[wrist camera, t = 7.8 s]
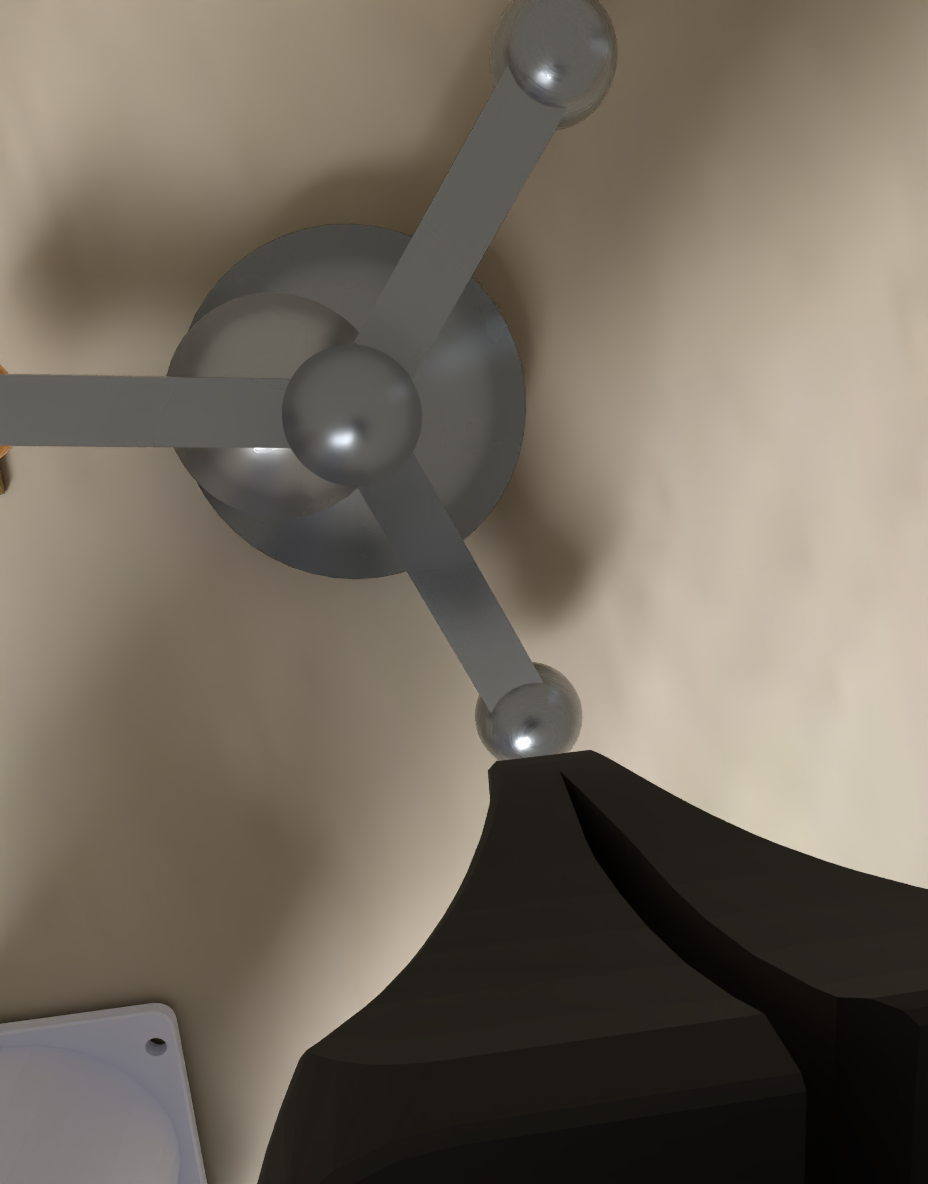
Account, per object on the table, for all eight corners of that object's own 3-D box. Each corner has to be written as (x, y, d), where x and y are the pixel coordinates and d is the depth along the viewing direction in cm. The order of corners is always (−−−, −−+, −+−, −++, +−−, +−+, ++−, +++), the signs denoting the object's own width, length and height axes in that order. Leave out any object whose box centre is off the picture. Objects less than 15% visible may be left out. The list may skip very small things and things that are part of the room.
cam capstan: (578, 51, 18) (639, -41, 14) (550, 710, 22) (592, 789, 18) (-82, 13, 17) (-226, -101, 13) (0, 723, 20) (-92, 812, 16)
